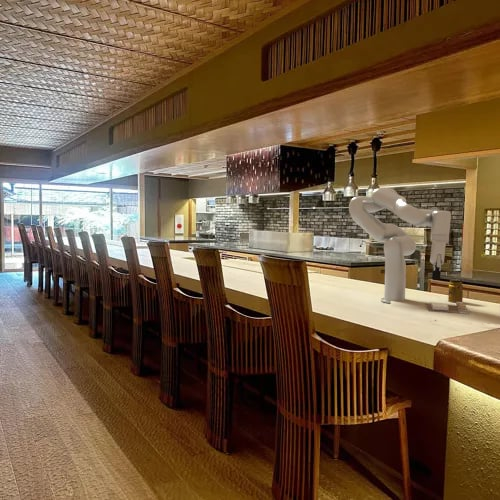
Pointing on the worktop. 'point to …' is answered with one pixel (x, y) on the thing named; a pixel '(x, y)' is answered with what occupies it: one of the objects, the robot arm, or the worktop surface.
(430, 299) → the worktop surface
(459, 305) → the turner
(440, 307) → the tile
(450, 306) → the board
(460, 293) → the condiment
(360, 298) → the worktop surface
